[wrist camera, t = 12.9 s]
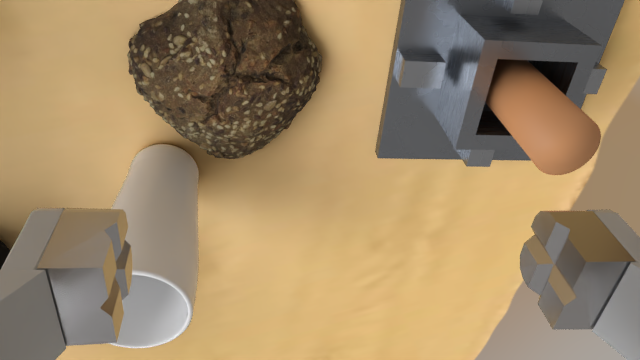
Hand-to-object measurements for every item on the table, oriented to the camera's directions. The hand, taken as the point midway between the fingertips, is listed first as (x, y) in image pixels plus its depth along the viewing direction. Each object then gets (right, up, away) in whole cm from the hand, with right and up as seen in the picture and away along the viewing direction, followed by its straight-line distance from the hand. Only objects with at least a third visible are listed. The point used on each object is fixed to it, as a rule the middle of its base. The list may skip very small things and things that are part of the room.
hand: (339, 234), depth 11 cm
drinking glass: (-13, +2, +33) cm, 35 cm away
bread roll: (-7, +10, +29) cm, 31 cm away
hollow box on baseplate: (+13, +10, +31) cm, 35 cm away
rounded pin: (+13, +9, +30) cm, 34 cm away
